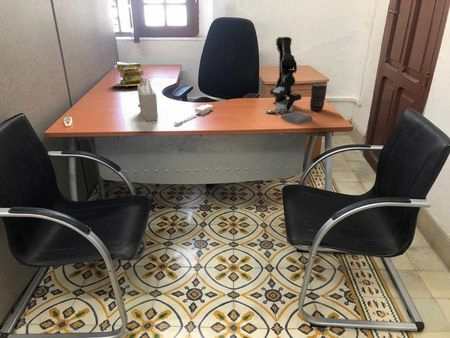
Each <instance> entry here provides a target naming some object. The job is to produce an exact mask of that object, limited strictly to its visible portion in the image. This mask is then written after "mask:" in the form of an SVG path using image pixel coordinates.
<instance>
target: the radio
mask: <svg viewBox="0 0 450 338" xmlns="http://www.w3.org/2000/svg"><path fill="white" fill-rule="evenodd" d="M139 71H140V73H141V83H140V85H137V93H138V94H137V95H138V100H139V101H138V102H139V104H137V107H138V108H139V109H140V110H139V113H140V114H141V117H143V119H144V121H145V122H153V121H158V120H159V119H158V118H159V115H158V113H159V112H158V101H157V94H156V93H155V91H154V90H153V88H152V86H151V82H150V80H149V77H145V78H144V82H145V84H143V83H142V71H143V69H140V68H139ZM146 82H148V83H146Z"/></svg>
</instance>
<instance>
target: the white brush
mask: <svg viewBox="0 0 450 338" xmlns="http://www.w3.org/2000/svg"><path fill="white" fill-rule="evenodd" d="M212 109H214V105H212V104H205V105H204V104H202V105H201V106H199V107H196V108H195V112H194V113H193V114H191V115H189V116H187V117H186V118H184V119H182V120H176V121H174V123H173V126H181V125H182V124H183V122H186V121H187V120H189V119H190V118H192V117H194V116H196V115H200V116H204V115H206V114H208V113H209V112H210V111H211V110H212Z"/></svg>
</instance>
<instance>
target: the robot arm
mask: <svg viewBox="0 0 450 338" xmlns="http://www.w3.org/2000/svg"><path fill="white" fill-rule="evenodd" d="M275 46H276V49H277V52H278V55H279V58H278V59H279V61H278V63H279V64H278V79H277V80H276V82H275V85H274V88H271V89H270V95H273V97H274V99H275V100H274V102H272V103H273V104H274V105H276V102H280V101H284V100H287V101H288V107H287V110H290V108H291V106H292V104H293V105H294V103H295V102H296V101H301V100H302V94H301V93H297V92H295V93H293V90H292V87H293V86H294V85H295V83H296V78H295V77H294V74H296V73H297V70H298V68H297V67H298V66H297V61H296V59H295V56H294V55H293V54H292V49H291V46H292V37H289V36H278V37H277V38H276V40H275Z"/></svg>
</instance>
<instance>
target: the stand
mask: <svg viewBox="0 0 450 338" xmlns="http://www.w3.org/2000/svg"><path fill="white" fill-rule="evenodd" d="M280 119H282V120H285V121H287V122H290V123H293V124H297V125H299V124H302V123H306V122H308V121H312V120H313V116H312V115H308V114H306V113H303V112H301V111H296V110H295V111H294V110H293V111H291V112H287V113H284V114H281V115H280Z"/></svg>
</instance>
